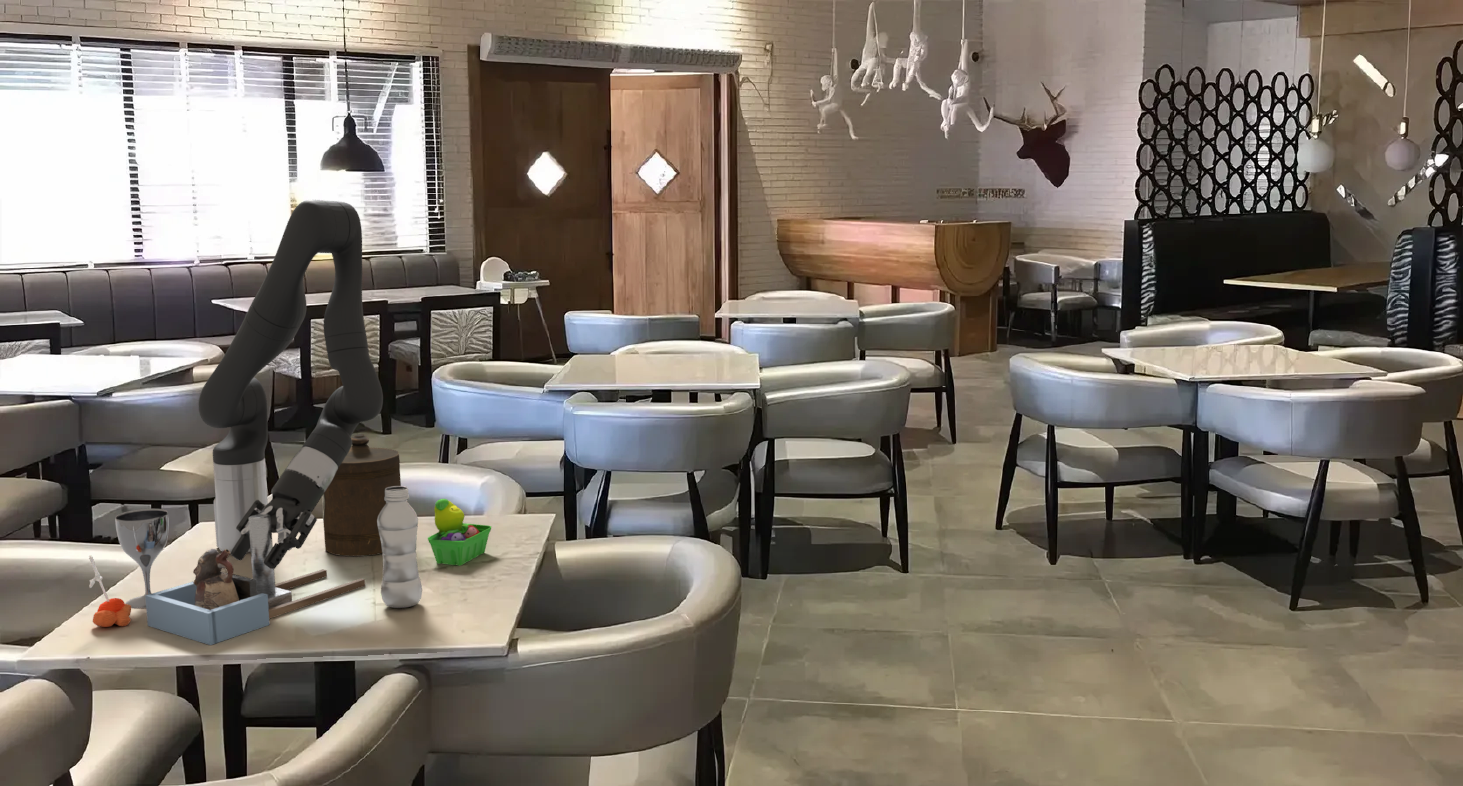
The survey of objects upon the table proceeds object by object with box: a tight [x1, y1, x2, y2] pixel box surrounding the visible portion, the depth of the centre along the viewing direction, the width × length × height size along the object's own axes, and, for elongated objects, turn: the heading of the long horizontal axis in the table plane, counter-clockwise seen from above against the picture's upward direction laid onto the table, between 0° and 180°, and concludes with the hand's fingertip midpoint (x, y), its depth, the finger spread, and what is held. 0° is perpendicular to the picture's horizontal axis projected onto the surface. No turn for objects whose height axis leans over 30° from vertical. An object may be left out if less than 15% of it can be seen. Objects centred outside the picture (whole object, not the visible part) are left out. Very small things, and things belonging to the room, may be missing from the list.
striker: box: [226, 514, 293, 609], centre depth 203 cm, size 7×8×15 cm
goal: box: [144, 580, 270, 646], centre depth 196 cm, size 16×11×5 cm, turn 57°
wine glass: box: [114, 508, 170, 609], centre depth 207 cm, size 8×8×15 cm
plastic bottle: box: [377, 485, 423, 609], centre depth 204 cm, size 6×7×20 cm
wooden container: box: [321, 433, 402, 557], centre depth 239 cm, size 15×15×22 cm
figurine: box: [192, 548, 239, 610], centre depth 197 cm, size 7×7×12 cm
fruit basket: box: [427, 498, 492, 567], centre depth 232 cm, size 11×9×11 cm
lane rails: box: [269, 569, 366, 619], centre depth 209 cm, size 11×22×1 cm, turn 148°
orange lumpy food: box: [88, 555, 132, 628], centre depth 195 cm, size 6×10×12 cm, turn 170°
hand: (251, 562), depth 202 cm, fingers open, 8 cm apart
